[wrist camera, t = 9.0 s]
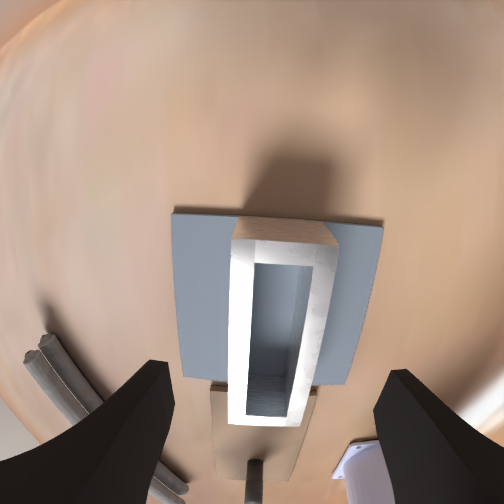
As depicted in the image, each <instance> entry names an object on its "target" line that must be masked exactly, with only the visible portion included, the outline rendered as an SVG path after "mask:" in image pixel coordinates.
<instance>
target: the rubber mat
mask: <svg viewBox="0 0 504 504" xmlns="http://www.w3.org/2000/svg"><path fill="white" fill-rule="evenodd" d="M250 217H257V216H250ZM238 218H239V215H219V214H196V213H172V214H171V236H172V259H173V277H174V292H175V305H176V316H177V327H178V337H179V346H180V355H181V364H182V372H183V377H190V378H198V379H207V380H217V381H227V382H228V371H229V302H230V261H231V238H232V235H233V232H234V229H235V226H236V224H237V221H238ZM266 218H274V217H266ZM280 219H289V218H280ZM295 220H303V219H295ZM308 221H317V220H308ZM320 222H323V223H324V224H325V226H326V227H327V228H328V230H329V231H330V233H331V234H332V235H333V237H334V238H335V240H336V241H337V243H338V244H339V245H340V247H339V253H338V259H337V266H336V272H335V277H334V283H333V289H332V294H331V299H330V305H329V310H328V315H327V320H326V324H325V329H324V334H323V338H322V343H321V347H320V352H319V356H318V360H317V364H316V369H315V373H314V377H313V381H312V385H343V384H345V382H346V379H347V376H348V373H349V370H350V367H351V363H352V360H353V357H354V354H355V350H356V347H357V344H358V340H359V337H360V333H361V330H362V326H363V322H364V318H365V315H366V311H367V307H368V303H369V299H370V294H371V290H372V286H373V281H374V277H375V272H376V267H377V262H378V257H379V252H380V247H381V241H382V236H383V230H384V228H383V227H382V226H375V225H364V224H353V223H342V222H329V221H320ZM298 274H299V265H282V264H266V263H255V275H254V292H253V308H252V324H251V339H250V355H249V371H248V373H260V374H281V375H284V371H285V365H286V359H287V352H288V346H289V339H290V333H291V326H292V319H293V312H294V305H295V297H296V290H297V282H298Z"/></svg>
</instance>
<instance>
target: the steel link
mask: <svg viewBox="0 0 504 504" xmlns="http://www.w3.org/2000/svg"><path fill="white" fill-rule="evenodd" d="M339 247H340V245H339V244H338V243H337V241H336V240H335V238H334V237H333V235H332V234H331V233H330V231H329V230H328V228H327V227H326V226H325V224H324V223H323V222H320V221H308V220H295V219H280V218H266V217H250V216H239V218H238V221H237V224H236V226H235V229H234V232H233V235H232V238H231V261H230V302H229V371H228V423H229V424H241V425H257V426H289V427H300V425H301V421H302V418H303V414H304V411H305V407H306V403H307V400H308V396H309V392H310V388H311V385H312V381H313V377H314V373H315V369H316V364H317V360H318V356H319V352H320V347H321V343H322V338H323V334H324V329H325V324H326V320H327V315H328V310H329V305H330V299H331V294H332V289H333V283H334V277H335V272H336V266H337V259H338V253H339ZM255 263H266V264H282V265H299V274H298V282H297V290H296V297H295V305H294V312H293V319H292V326H291V333H290V339H289V346H288V352H287V359H286V365H285V371H284V375H281V374H260V373H248V371H249V355H250V339H251V324H252V308H253V292H254V275H255Z"/></svg>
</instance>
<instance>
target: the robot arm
mask: <svg viewBox="0 0 504 504" xmlns="http://www.w3.org/2000/svg"><path fill="white" fill-rule="evenodd" d="M174 406H175V401H174V395H173V390H172V384H171V378H170V372H169V366H168V362H163V361H157V360H149V361H147V362H146V363H145V364H144V365H143V366H142V367H141V368H140V369H139V370H138V371H137V372H136V373H135V374H134V375H133V376H132V377H131V378H130V379H129V380H128V381H127V382H126V383H125V384H124V385H123V386H121V387H120V388H119V389H118V390H117V391H116V392H115V393H114V394H113V395H111V396H110V397H109V398H108V399H107V400H106V401H105V402H104V403H102V404H101V405H100V406H99V407H97V408H96V409H95V410H94V411H92V412H91V413H90V414H89V415H87V416H86V417H85V418H84V419H82V420H81V421H79V422H78V423H77V424H75V425H74V426H72V427H71V428H69V429H68V430H66V431H65V432H63V433H62V434H60V435H58V436H57V437H55V438H53V439H51V440H49V441H48V442H46V443H44V444H42V445H40V446H38V447H36V448H34V449H32V450H29V451H27V452H24V453H22V454H20V455H17V456H14V457H12V458H9V459H6V460H3V461H0V504H146V500H147V495H148V491H149V487H150V484H151V480H152V477H153V475H154V472H155V469H156V466H157V463H158V461H159V458H160V455H161V452H162V449H163V447H164V444H165V441H166V438H167V435H168V432H169V429H170V425H171V420H172V416H173V411H174ZM373 412H374V418H375V425H376V430H377V436H378V439H379V440H374V441H366V442H357V443H352V444H350V445H349V447H348V448H347V450H346V452H345V454H344V456H343V457H342V459H341V461H340V463H339V464H338V466H337V468H336V469H335V471H334V473H333V474H332V478H333V479H339V478H344V480H345V486H346V492H347V498H348V504H504V447H502V446H500V445H498V444H497V443H495V442H493V441H492V440H490V439H489V438H487V437H486V436H484V435H483V434H481V433H480V432H478V431H477V430H476V429H474V428H473V427H472V426H470V425H469V424H468V423H467V422H465V421H464V420H463V419H462V418H460V417H459V416H458V415H457V414H456V413H455V412H453V411H452V410H451V409H450V408H449V407H448V406H447V405H445V404H444V403H443V402H442V401H441V400H440V399H439V398H438V397H437V396H436V395H435V394H434V393H432V392H431V391H430V390H429V389H428V388H427V387H426V386H425V385H424V384H423V383H422V382H421V381H420V380H419V379H417V378H416V377H415V376H414V375H413V374H412V373H411V372H409V371H408V370H407V369H401V370H391V372H390V374H389V376H388V379H387V381H386V383H385V386H384V388H383V390H382V392H381V395H380V397H379V399H378V401H377V403H376V405H375V407H374V409H373Z"/></svg>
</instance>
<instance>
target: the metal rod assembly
mask: <svg viewBox="0 0 504 504" xmlns="http://www.w3.org/2000/svg"><path fill="white" fill-rule="evenodd" d="M38 347H39V349H40V350H41V351H40V350H36V351H34V350H30V351H28V352H27V353H26V354H25V359H24V362H23V364H24V365H25V367H26V368H27V369H28V371H29V372H30V374H31V375H32V376H33V378H34V379H35V380H36V382H37V383H38V384H39V385H40V387H41V388H42V389H43V391H44V392H45V393H46V394H47V396H48V397H49V398H50V399H51V401H52V402H53V403H54V404H55V405H56V407H57V408H58V409H59V410H60V411H61V413H62V414H63V415H64V416H65V417H66V418H67V419H68V420H69V422H70V423H71V424H72V425H73V426H74V425H75V424H77V423H78V422H79V421H81V420H82V419H84V418H85V417H86V416H87V415H89V414H90V413H91V412H92V411H94V410H95V409H96V408H97V407H99V406H100V405H101V404H102V403H104V402H103V401H102V400H101V398H100V397H99V396H98V395H97V393H96V392H95V391H94V390H93V388H92V387H91V386H90V384H89V383H88V382H87V381H86V379H85V378H84V377H83V375H82V374H81V372H80V371H79V370H78V368H77V367H76V366H75V364H74V363H73V361H72V360H71V358H70V357H69V356H68V354H67V353H66V351H65V350H64V348H63V347H62V345H61V344H60V342H59V340H58V339H57V337H56V336H55V334H52V335H49V334H45V335H42V337H41V339H40V343H39V344H38ZM41 352H42V353H43V354H42V353H41ZM43 355H44V356H45V357H44V356H43ZM45 358H46V359H47V360H48V361H47V360H46V359H45ZM48 362H49V363H50V364H49V363H48ZM50 365H51V366H52V367H51V366H50ZM52 368H53V369H54V370H55V371H54V370H53V369H52ZM55 372H56V373H57V374H58V375H57V374H56V373H55ZM58 376H59V377H60V378H61V379H60V378H59V377H58ZM61 380H62V381H63V382H64V383H63V382H62V381H61ZM64 384H65V385H66V386H67V387H66V386H65V385H64ZM67 388H68V389H69V390H70V391H71V392H70V391H69V390H68V389H67ZM71 393H72V394H73V395H74V396H75V397H74V396H73V395H72V394H71ZM75 398H76V399H77V400H78V401H79V402H80V403H79V402H78V401H77V400H76V399H75ZM80 404H81V405H82V406H83V407H84V408H85V409H86V410H85V409H84V408H83V407H82V406H81V405H80ZM86 411H87V412H88V413H89V414H88V413H87V412H86ZM153 476H154V477H155V478H156V479H155V478H154V477H152V480H151V484H150V487H149V491H148V493H149V494H151V495H152V496H154V497H155V498H157V499H158V500H159V501H161V502H162V503H164V504H185V501H184V500H183V499H181V498H180V497H178V496H177V495H179V496H182V495H185V494H186V493H187V492H188V490H189V487H188V485H187V484H185V483H184V482H183V481H182V480H181V479H179V478H178V477H177V476H176V475H175V474H174V473H172V472H171V471H170V470H169V469H168V468H167V467H166V466H165V465H164V464H162V463H161V462H160V461H158V463H157V466H156V469H155V472H154V475H153ZM157 479H158V480H159V481H160V482H161V483H160V482H159V481H158V480H157ZM162 483H163V484H164V485H165V486H166V487H165V486H164V485H163V484H162ZM167 487H168V488H169V489H170V490H172V491H173V492H174V493H176V494H177V495H176V494H174V493H173V492H172V491H170V490H169V489H168V488H167Z"/></svg>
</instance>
